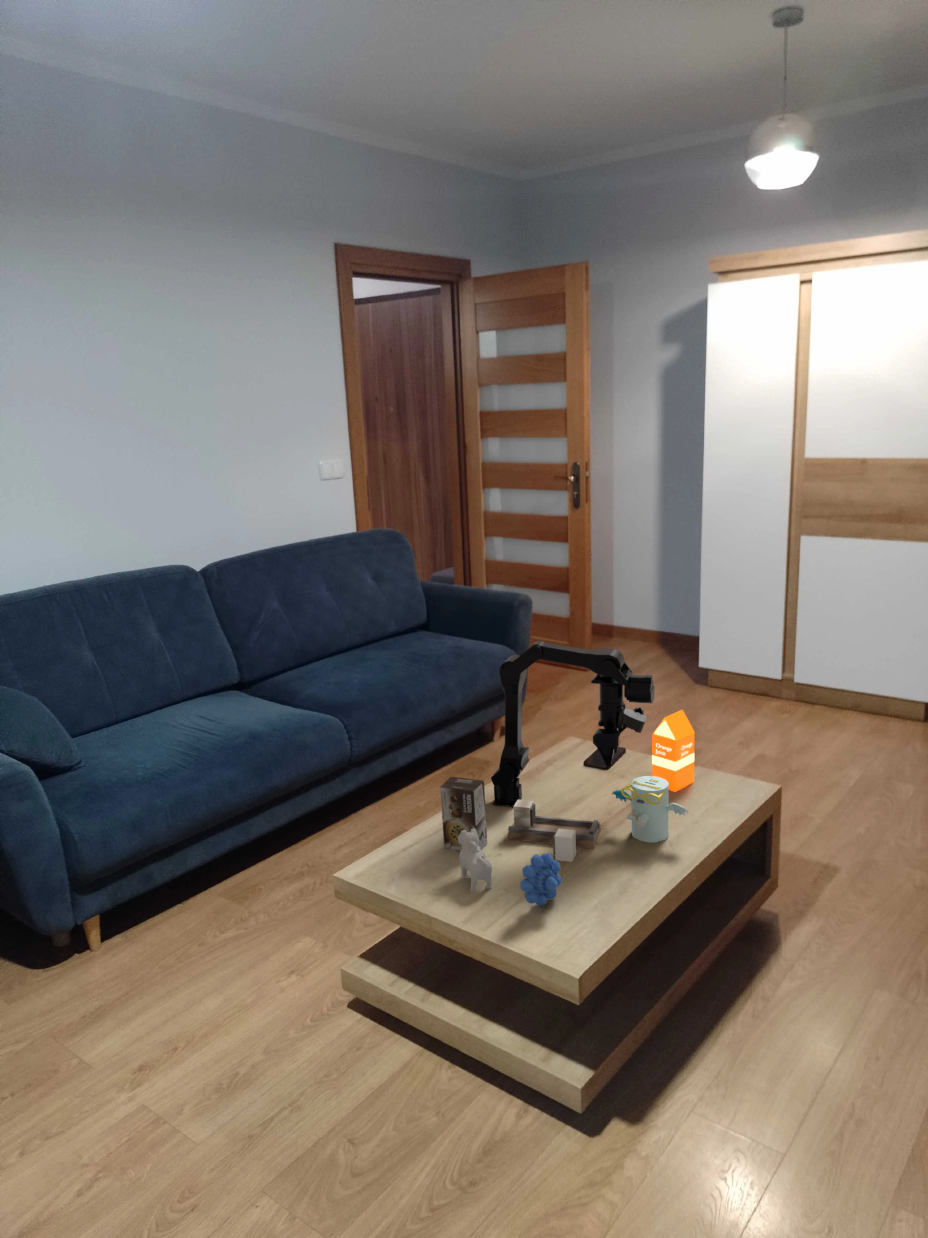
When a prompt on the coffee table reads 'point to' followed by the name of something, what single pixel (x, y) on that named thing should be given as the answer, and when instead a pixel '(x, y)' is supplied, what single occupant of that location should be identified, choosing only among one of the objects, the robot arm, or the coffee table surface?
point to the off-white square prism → (564, 845)
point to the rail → (549, 826)
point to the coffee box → (463, 810)
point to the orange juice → (674, 751)
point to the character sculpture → (649, 807)
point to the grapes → (541, 879)
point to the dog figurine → (474, 859)
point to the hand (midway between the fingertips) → (611, 759)
